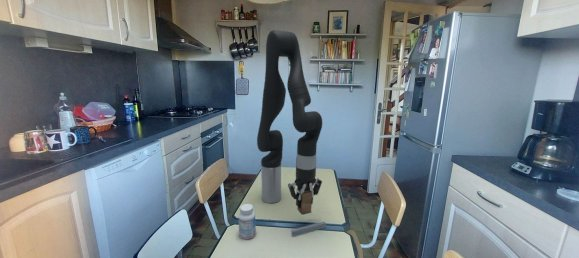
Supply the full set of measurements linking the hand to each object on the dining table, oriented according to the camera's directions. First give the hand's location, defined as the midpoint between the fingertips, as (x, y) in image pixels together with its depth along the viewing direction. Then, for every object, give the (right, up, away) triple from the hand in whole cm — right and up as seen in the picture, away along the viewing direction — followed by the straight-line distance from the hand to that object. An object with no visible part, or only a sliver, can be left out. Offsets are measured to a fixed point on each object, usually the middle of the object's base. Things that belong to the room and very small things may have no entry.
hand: (304, 205), depth 95 cm
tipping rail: (+2, -9, -2) cm, 9 cm away
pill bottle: (-21, -9, -5) cm, 24 cm away
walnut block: (0, -2, +1) cm, 2 cm away
